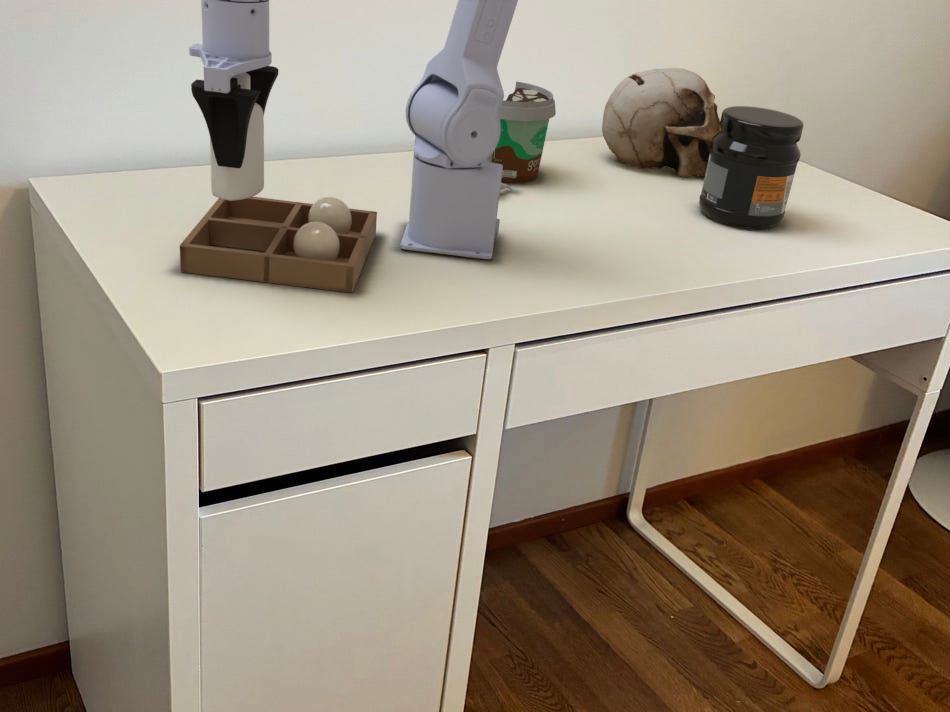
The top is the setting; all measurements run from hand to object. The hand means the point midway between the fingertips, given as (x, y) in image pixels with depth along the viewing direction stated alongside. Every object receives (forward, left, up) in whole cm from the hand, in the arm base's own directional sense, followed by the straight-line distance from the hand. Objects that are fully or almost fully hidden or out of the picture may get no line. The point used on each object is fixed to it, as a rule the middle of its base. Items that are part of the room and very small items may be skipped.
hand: (237, 156), depth 102 cm
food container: (-27, -39, -10) cm, 49 cm away
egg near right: (-8, +1, -7) cm, 11 cm away
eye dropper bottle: (0, 0, -4) cm, 4 cm away
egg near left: (-8, -7, -7) cm, 12 cm away
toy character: (-19, -33, -6) cm, 39 cm away
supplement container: (-54, -33, -10) cm, 64 cm away
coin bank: (-47, -53, -10) cm, 72 cm away
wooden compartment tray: (-4, -3, -10) cm, 11 cm away
